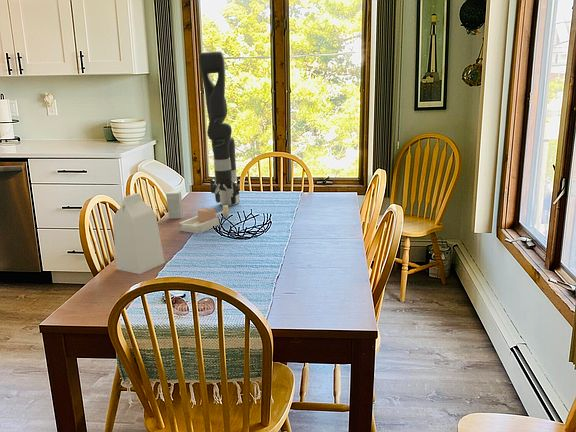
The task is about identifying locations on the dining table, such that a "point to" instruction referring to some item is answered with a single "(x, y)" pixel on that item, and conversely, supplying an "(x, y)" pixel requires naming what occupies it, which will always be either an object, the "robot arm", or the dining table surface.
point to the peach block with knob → (211, 213)
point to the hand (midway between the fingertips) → (225, 203)
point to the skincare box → (174, 204)
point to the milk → (136, 236)
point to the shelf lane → (198, 225)
